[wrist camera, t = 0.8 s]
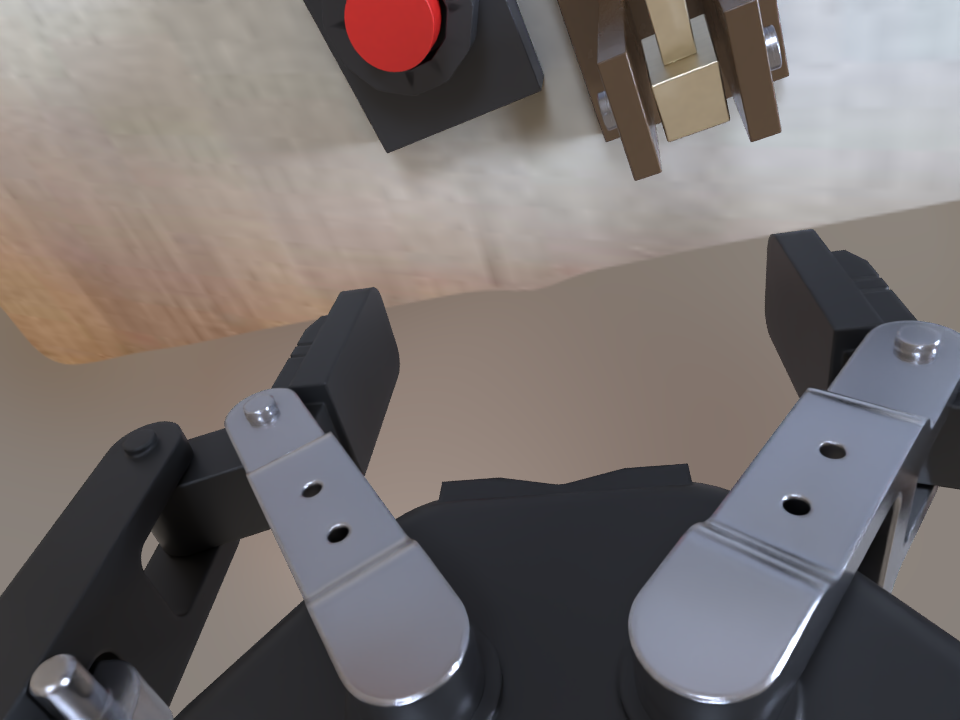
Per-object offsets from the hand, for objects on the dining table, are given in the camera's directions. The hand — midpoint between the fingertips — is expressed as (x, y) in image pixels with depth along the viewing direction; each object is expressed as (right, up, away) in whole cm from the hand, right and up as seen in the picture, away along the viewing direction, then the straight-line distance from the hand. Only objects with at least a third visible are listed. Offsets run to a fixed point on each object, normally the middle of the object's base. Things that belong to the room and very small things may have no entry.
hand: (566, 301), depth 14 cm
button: (-5, +14, +16) cm, 22 cm away
